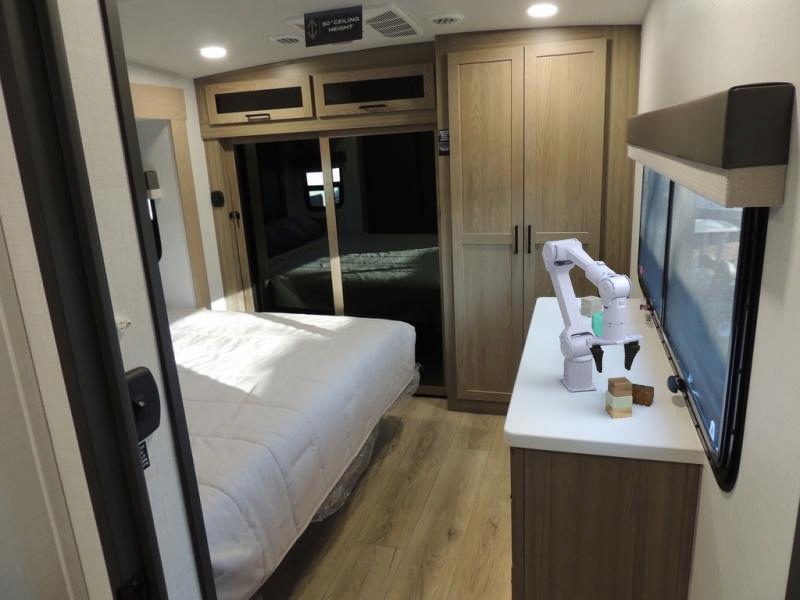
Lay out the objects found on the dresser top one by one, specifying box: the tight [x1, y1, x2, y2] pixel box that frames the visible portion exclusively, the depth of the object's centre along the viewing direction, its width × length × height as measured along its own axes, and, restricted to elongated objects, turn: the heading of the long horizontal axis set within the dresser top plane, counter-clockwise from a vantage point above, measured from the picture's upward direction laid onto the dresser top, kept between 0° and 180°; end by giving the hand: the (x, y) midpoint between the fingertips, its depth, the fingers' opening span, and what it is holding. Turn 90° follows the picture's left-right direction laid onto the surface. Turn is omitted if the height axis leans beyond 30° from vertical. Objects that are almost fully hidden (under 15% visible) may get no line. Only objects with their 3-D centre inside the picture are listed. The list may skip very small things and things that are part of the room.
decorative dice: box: [591, 311, 603, 337], centre depth 214 cm, size 8×8×8 cm
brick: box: [631, 382, 655, 407], centre depth 161 cm, size 11×4×5 cm, turn 54°
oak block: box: [605, 400, 633, 419], centre depth 154 cm, size 5×5×3 cm
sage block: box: [605, 389, 633, 409], centre depth 153 cm, size 5×5×3 cm
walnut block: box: [607, 376, 633, 397], centre depth 153 cm, size 4×4×4 cm
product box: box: [580, 295, 603, 319], centre depth 240 cm, size 6×6×7 cm
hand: (613, 370), depth 156 cm, fingers open, 7 cm apart
